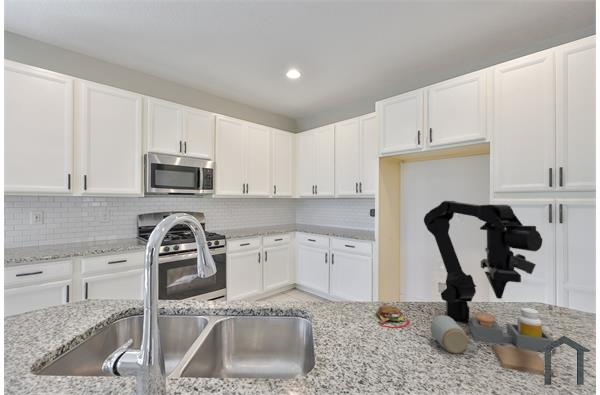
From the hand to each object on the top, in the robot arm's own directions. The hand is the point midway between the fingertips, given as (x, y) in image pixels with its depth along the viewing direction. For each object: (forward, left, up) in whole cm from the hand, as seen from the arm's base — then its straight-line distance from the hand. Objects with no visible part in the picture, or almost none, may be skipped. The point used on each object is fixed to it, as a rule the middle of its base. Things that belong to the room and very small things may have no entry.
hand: (498, 298), depth 84 cm
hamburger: (-32, +2, -13) cm, 34 cm away
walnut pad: (+2, -12, -12) cm, 17 cm away
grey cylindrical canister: (-13, -10, -13) cm, 21 cm away
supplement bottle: (+8, 0, -13) cm, 15 cm away
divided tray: (+2, 0, -12) cm, 13 cm away
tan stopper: (-3, 0, -11) cm, 12 cm away
